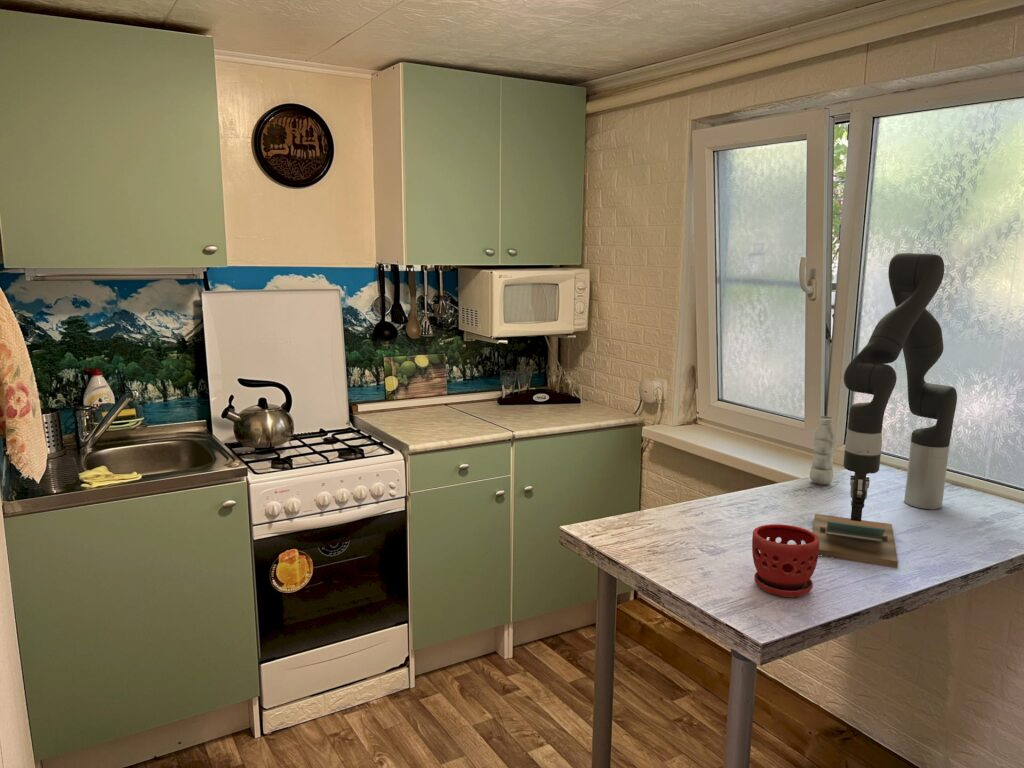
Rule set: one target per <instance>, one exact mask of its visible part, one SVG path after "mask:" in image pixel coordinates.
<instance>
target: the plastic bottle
mask: <svg viewBox="0 0 1024 768" xmlns="http://www.w3.org/2000/svg"><path fill="white" fill-rule="evenodd" d="M818 423H819V425H818V426H817V428H815V430H814V432H813V433H812V434H813V435H812V436H813V437H812V438H813V457H812V463H811V468H810V470H809V479H810V481H811V482H812V483H814V484H817V485H825V486H827V485H830V484H831V483H832V482H833V480H834V479H833V478H834V468H833V467H834V465H833V464H834V463H833V461H834V459H833V458H834V450H835V446H836V441H837V438H838V437H837V432H836V430H835V429H834V427H833V425H834V417H832V416H828V415H821V416H819V421H818Z"/></svg>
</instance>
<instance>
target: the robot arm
mask: <svg viewBox="0 0 1024 768" xmlns="http://www.w3.org/2000/svg"><path fill="white" fill-rule="evenodd" d="M887 273H888V283H889V289H890V291H891V295H892V299H893V301H894V305H895V307H894V308H893V309H892V310H890V311H889V312H888V313H886V314H885V315H884V316H883V317H882V318H881V319H880V320H879V321H878V322H877V324H876V325H875V327H874V329H873V330H872V334H871V336H870V337H869V339H868V342H867V344H866V345H865V346H864V347H863V348H862V349H861V350H860V352H859V353H858V354H857V355H856V356H854V358H852V360H851V361H849V364H848V365H847V367H846V368H845V371H844V374H843V382H844V386H845V388H846V389H847V390H849V391H851V392H853V393H861V394H866V395H873V397H872V399H871V401H869V402H857V403H853V404H852V405H851V406H850V408H849V414H848V423H847V424H848V426H847V433H846V434H845V435H846V436H845V442H844V444H845V445H844V453H843V454H844V455H843V465H842V467H843V468H844V469H845V470H846V471H849V472H853V473H854V474H850V477H849V478H850V479H849V480H850V483H849V484H850V485H849V486H850V489H849V490H850V491H849V492H850V493H849V495H850V498H851V500H850V505H851V511H850V518H851V520H853V521H860V522H861V520H862V517H863V516H862V515H863V509H864V507H865V501H866V500H867V499H868V498H867V497H868V491H869V490H868V489H869V488H870V476H867V475H868V474H876V473H878V472H879V471H880V466H881V456H882V448H883V447H882V445H883V424H884V415H885V413H886V409H887V406H888V403H889V400H890V397H891V395H892V393H893V391H894V390H895V387H896V384H897V373H896V370H895V369H894V367H893V366H891V365H890V364H891V363H892V364H893V363H894V362H895V361H897V360H898V358H899V356H900V354H901V352H903V358H904V365H905V371H906V379H907V381H906V382H907V383H906V384H907V401H908V402H907V403H908V408H909V411H910V413H911V414H912V415H914V416H917V417H920V418H924V419H925V418H926V419H931V420H936V422H935V425H932V426H929V427H928V426H927V427H923V428H922V427H921V428H916V429H914V430H912V432H911V436H910V446H909V454H908V455H909V456H908V464H907V473H906V483H905V491H904V498H903V502H904V503H905V504H907V505H908V506H912V507H915V508H918V509H924V510H938V509H941V508H942V507H943V501H944V493H945V484H946V476H947V471H948V470H947V468H948V460H949V453H950V443H951V438H952V433H953V432H952V431H953V426H954V425H953V424H954V418H955V413H956V408H957V403H958V402H957V401H958V392H957V389H956V388H955V387H953V386H950V385H946V384H945V385H943V384H935V383H930V382H926V381H925V376H926V375H927V373H929V371H930V370H931V368H932V367H933V366H935V364H936V363H937V362H938V360H939V359H940V358H941V356H942V354H943V352H944V339H943V338H944V337H943V331H942V327H941V325H940V323H939V321H938V320H937V319H936V318H935V316H934V315H933V314H932V313H931V312H930V311H929V310H928V309H927V307H928V305H930V304H929V303H930V302H931V301H932V299H933V298H934V296H935V295H936V293H937V292H938V290H939V288H940V287H941V285H942V282H943V280H944V275H945V262H944V259H943V257H942V256H941V255H938V254H934V253H923V252H922V253H918V252H900V253H896V254H895V255H893V256H892V257H891V259H890V261H889V264H888V272H887Z"/></svg>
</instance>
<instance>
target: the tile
mask: <svg viewBox="0 0 1024 768" xmlns="http://www.w3.org/2000/svg"><path fill="white" fill-rule="evenodd" d="M884 531H885V525H882V524H875V523H867V522H860V521H853V520H845V519H838V518H831V517H828V522H827V530H826V532H832V533H839V534H846V535H853V536H860V537H867V538H874V539H881V538H882V536H883V534H884Z"/></svg>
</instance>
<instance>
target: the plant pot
mask: <svg viewBox="0 0 1024 768" xmlns="http://www.w3.org/2000/svg"><path fill="white" fill-rule="evenodd" d="M767 538H768V539H767ZM778 538H780V539H781V541H780V542H777V541H776V539H778ZM790 541H793V542H795V544H791V543H790V544H789V542H790ZM802 541H803V542H804V543H805V544H803V543H802ZM751 542H752V543H751V545H752V546H751V551H752V552H751V553H752V559H753V564H754V568H755V569H756V572H755V574H754V576H753V579H754V582H755V584H756V585H757V586H758V587H759V588H760V589H761V590H763V591H765V592H766V593H769V594H772V595H774V596H780V597H786V598H798V597H801V596H804V595H806V594H808V593H810V592H811V590H812V589H813V587H814V583H813V580H812V579H811V578H812V576H813V574H814V572H815V570H816V567H817V563H818V559H819V556H818V554H819V538H818V536H817V535H816V534H814V533H813V531H811V530H809V529H807V528H804V527H799V526H796V525H790V524H782V523H781V524H779V523H778V524H777V523H776V524H772V523H771V524H765V525H760V526H758V527H757V526H756V528H754V529H753V530H752V541H751Z"/></svg>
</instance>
